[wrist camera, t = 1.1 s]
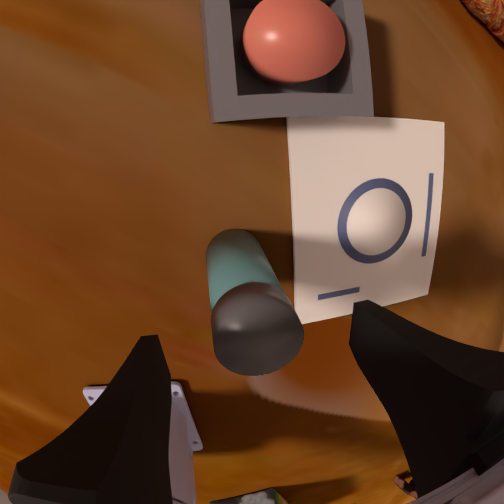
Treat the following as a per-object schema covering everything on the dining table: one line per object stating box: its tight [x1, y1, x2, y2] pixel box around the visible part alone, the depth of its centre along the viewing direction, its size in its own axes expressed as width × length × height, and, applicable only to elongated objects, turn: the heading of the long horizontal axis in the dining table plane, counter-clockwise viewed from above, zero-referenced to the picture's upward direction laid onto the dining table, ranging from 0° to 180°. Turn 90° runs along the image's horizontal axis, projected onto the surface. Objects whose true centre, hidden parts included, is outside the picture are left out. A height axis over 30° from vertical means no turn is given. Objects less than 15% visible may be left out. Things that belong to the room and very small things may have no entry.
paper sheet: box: [286, 116, 444, 324], centre depth 19 cm, size 13×11×1 cm
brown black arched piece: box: [394, 475, 418, 499], centre depth 37 cm, size 12×10×8 cm
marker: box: [206, 229, 304, 376], centre depth 15 cm, size 3×3×8 cm
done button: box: [239, 0, 345, 86], centre depth 11 cm, size 4×4×2 cm
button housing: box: [200, 0, 374, 123], centre depth 13 cm, size 7×7×4 cm
